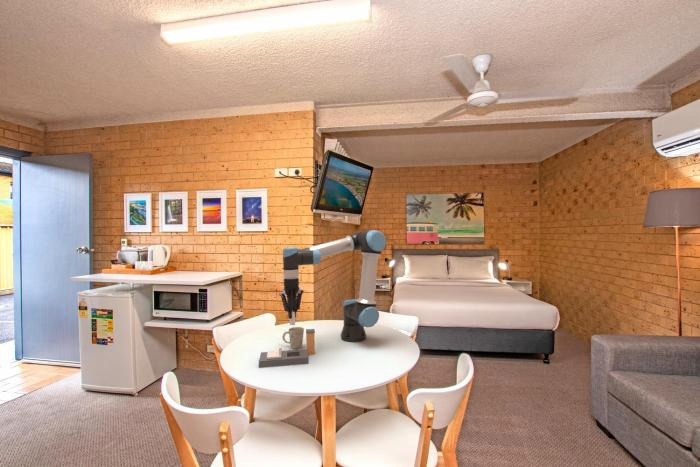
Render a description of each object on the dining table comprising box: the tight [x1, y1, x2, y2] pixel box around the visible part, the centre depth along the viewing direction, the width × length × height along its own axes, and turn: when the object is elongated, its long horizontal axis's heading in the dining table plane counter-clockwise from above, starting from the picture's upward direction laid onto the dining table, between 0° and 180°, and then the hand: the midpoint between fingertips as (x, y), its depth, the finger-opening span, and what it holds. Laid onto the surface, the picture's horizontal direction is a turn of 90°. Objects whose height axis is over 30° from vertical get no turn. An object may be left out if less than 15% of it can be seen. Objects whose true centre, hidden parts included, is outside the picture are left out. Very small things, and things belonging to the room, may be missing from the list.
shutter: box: [267, 343, 283, 359], centre depth 159 cm, size 7×9×4 cm
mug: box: [282, 326, 305, 350], centre depth 180 cm, size 8×13×10 cm, turn 78°
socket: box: [258, 348, 309, 369], centre depth 160 cm, size 23×12×3 cm, turn 101°
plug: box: [305, 328, 316, 356], centre depth 170 cm, size 4×4×12 cm
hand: (292, 324), depth 163 cm, fingers closed
